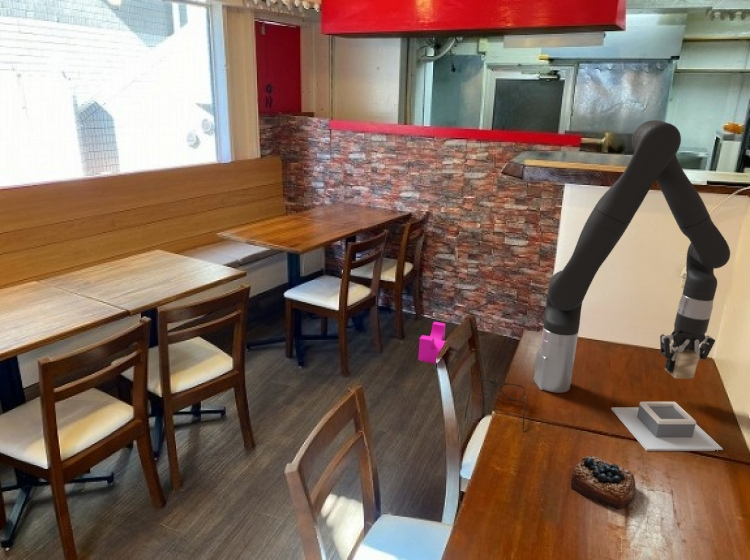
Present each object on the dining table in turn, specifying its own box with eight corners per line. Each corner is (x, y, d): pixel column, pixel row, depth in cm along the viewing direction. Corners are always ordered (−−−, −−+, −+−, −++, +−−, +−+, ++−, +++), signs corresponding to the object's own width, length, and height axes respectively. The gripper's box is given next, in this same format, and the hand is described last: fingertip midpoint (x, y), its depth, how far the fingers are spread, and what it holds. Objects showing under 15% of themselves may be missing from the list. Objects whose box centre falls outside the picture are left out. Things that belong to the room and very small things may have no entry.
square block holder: (646, 450, 126) (650, 432, 124) (611, 409, 143) (614, 392, 141) (722, 450, 126) (727, 432, 125) (678, 409, 144) (682, 392, 142)
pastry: (582, 464, 121) (586, 441, 119) (640, 488, 114) (645, 464, 112) (563, 489, 113) (567, 465, 111) (624, 516, 105) (629, 491, 104)
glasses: (524, 401, 146) (526, 385, 144) (522, 436, 132) (524, 419, 130) (470, 392, 149) (471, 377, 147) (463, 426, 136) (465, 409, 134)
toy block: (437, 364, 165) (439, 342, 163) (418, 360, 168) (419, 338, 165) (451, 346, 179) (452, 324, 176) (433, 342, 181) (434, 321, 179)
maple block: (675, 378, 144) (680, 354, 142) (664, 369, 149) (670, 345, 146) (693, 378, 144) (699, 354, 142) (682, 369, 149) (688, 346, 147)
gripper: (675, 317, 137) (661, 378, 142) (730, 319, 138) (714, 379, 143) (659, 306, 144) (646, 364, 149) (711, 308, 145) (696, 365, 150)
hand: (679, 371), depth 146 cm, fingers closed on maple block, 5 cm apart
